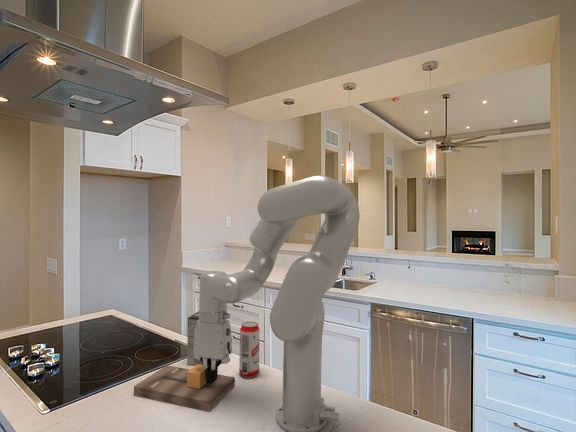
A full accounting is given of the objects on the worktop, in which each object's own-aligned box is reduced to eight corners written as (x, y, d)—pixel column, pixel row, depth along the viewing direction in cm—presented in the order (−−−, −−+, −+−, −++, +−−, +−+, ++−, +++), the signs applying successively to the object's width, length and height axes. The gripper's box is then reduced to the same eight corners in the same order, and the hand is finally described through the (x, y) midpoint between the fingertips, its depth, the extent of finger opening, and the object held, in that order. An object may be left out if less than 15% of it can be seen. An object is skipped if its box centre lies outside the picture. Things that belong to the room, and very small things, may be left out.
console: (234, 385, 97) (234, 377, 97) (209, 411, 84) (209, 401, 84) (166, 373, 105) (166, 364, 105) (133, 395, 91) (133, 385, 91)
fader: (209, 380, 95) (209, 366, 95) (199, 388, 90) (199, 374, 90) (197, 378, 96) (197, 364, 96) (186, 386, 91) (187, 371, 91)
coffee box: (199, 354, 120) (199, 310, 120) (215, 355, 118) (216, 311, 119) (186, 365, 111) (187, 317, 111) (203, 367, 109) (204, 318, 110)
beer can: (235, 377, 103) (236, 325, 103) (244, 368, 109) (245, 320, 109) (254, 380, 101) (254, 328, 101) (262, 371, 107) (262, 322, 107)
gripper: (243, 315, 93) (241, 380, 93) (197, 309, 98) (195, 371, 98) (230, 323, 86) (228, 393, 86) (181, 316, 91) (180, 383, 91)
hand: (211, 381), depth 92 cm, fingers closed
